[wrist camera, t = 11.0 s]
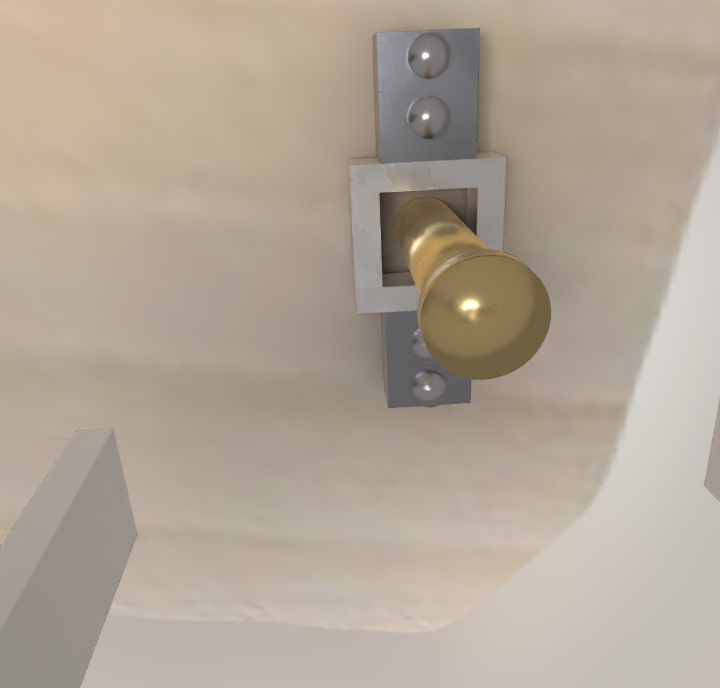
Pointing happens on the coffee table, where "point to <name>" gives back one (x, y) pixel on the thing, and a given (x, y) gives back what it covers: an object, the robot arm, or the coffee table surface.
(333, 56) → the coffee table surface
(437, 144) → the chain joint
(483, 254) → the pin
